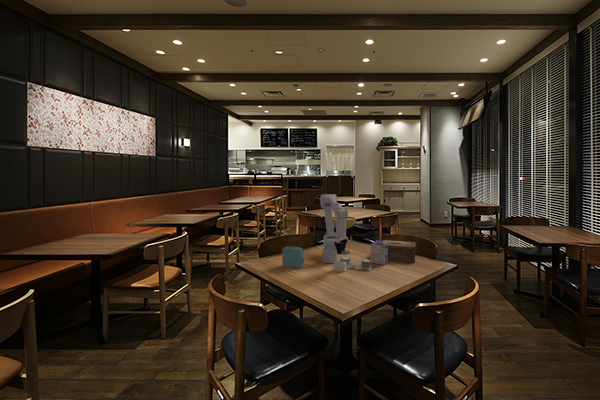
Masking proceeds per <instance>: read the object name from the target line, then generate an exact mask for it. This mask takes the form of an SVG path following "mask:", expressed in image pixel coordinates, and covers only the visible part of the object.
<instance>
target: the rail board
mask: <svg viewBox="0 0 600 400" xmlns="http://www.w3.org/2000/svg"><path fill="white" fill-rule="evenodd" d="M371 265H372V267H371V268H362V267H353V266H346V270H347V269H348V270H357V271H366V272H370V271H372V268H373V264H371Z"/></svg>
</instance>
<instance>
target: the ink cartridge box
mask: <svg viewBox="0 0 600 400" xmlns="http://www.w3.org/2000/svg"><path fill="white" fill-rule="evenodd" d="M376 240H377V243H375V242H371V244H370V256H369V258H370V259H369V260H371V264H372V263H373V264H377V265H383V266H385V265H388V261H389V260H388V244H382V243H383V240H384V239H376ZM378 241H381V242H378Z"/></svg>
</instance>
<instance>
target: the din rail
mask: <svg viewBox="0 0 600 400" xmlns="http://www.w3.org/2000/svg"><path fill="white" fill-rule="evenodd" d="M372 265H373V264H371V266H370V267H362V266H361V263H355V262H350V263H349V265H346V266H353V267H362V268H371V267H372ZM372 268H373V267H372Z"/></svg>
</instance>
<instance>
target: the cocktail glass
mask: <svg viewBox="0 0 600 400" xmlns="http://www.w3.org/2000/svg"><path fill="white" fill-rule="evenodd" d="M332 219H333V227H334V228H336V222H335V216H332ZM356 221H357V219H356V218H355V217H352V216H347V219H346V230H347V229H350V228H352V227H353V226H354V225H356ZM349 254H351V251H349V250H345V251H342V253H341V254H340V255H349Z"/></svg>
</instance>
